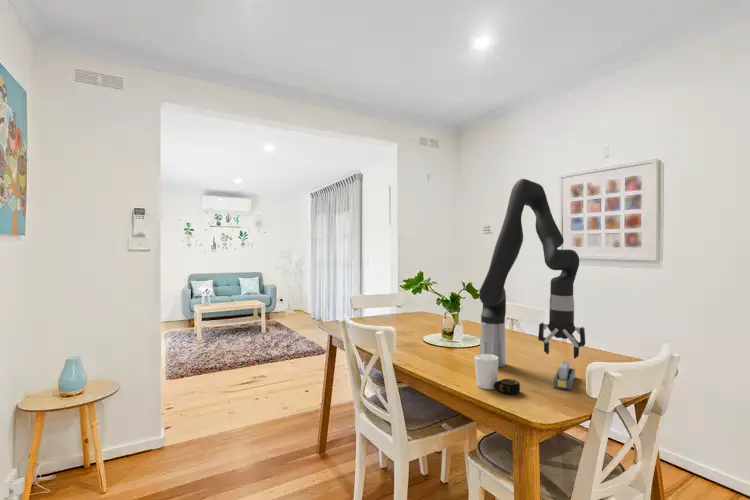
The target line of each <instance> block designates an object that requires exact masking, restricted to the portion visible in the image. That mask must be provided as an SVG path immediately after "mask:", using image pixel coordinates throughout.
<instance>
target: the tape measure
mask: <svg viewBox="0 0 750 500" xmlns="http://www.w3.org/2000/svg"><path fill="white" fill-rule="evenodd" d="M494 388H495V389H494V390H495V391H497V392H501V393H503V394H506V395H515V394H518V393H520V391H521V384H520V381H518V380H516V379H512V378H504V379H501V380H497V382H495V385H494Z"/></svg>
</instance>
